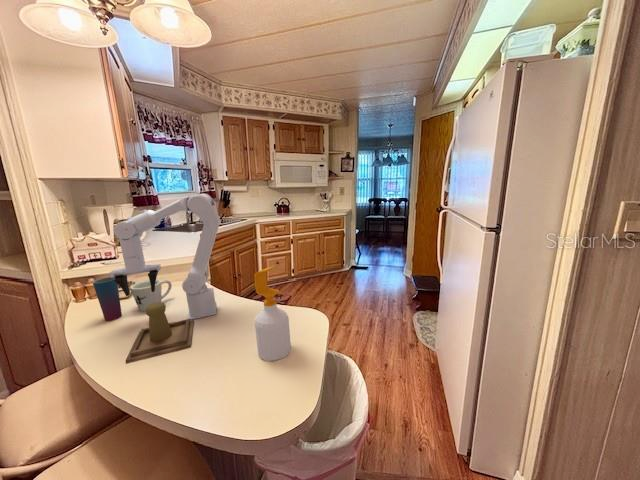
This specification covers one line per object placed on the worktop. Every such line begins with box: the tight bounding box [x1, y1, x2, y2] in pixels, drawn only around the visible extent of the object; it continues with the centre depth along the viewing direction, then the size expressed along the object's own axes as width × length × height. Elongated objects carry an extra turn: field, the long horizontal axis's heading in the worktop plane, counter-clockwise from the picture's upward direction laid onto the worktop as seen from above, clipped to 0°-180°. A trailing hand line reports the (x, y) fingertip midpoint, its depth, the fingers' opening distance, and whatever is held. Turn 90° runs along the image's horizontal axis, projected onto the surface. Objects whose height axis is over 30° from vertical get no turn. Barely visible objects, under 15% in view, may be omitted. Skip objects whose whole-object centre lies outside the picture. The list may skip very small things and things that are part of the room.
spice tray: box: [125, 318, 195, 364], centre depth 82 cm, size 16×16×2 cm
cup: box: [92, 276, 123, 322], centre depth 97 cm, size 7×7×15 cm
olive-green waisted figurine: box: [145, 302, 172, 342], centre depth 81 cm, size 6×6×11 cm
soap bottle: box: [253, 265, 292, 362], centre depth 71 cm, size 9×9×25 cm
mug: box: [129, 278, 172, 312], centre depth 106 cm, size 10×15×10 cm
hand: (141, 292), depth 93 cm, fingers open, 7 cm apart
